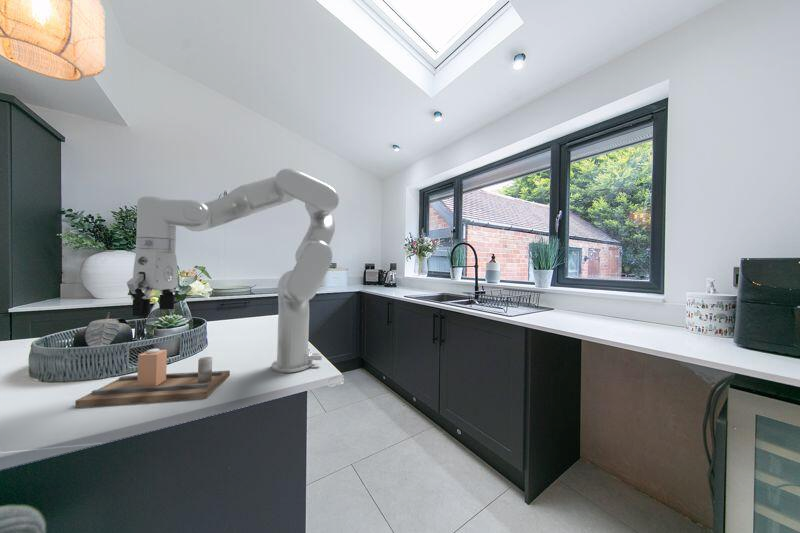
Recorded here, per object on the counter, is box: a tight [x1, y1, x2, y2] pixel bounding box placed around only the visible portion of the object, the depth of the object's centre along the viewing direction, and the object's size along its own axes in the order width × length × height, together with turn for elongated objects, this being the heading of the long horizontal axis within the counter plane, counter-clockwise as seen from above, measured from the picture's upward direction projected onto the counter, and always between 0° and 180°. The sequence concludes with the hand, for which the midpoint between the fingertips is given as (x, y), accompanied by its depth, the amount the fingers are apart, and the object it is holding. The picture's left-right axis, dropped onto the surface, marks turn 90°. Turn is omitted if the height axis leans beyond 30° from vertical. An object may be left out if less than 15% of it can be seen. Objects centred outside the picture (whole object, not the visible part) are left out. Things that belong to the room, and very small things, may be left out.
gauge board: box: [74, 356, 231, 408], centre depth 70 cm, size 26×14×8 cm, turn 102°
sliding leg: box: [136, 348, 168, 387], centre depth 69 cm, size 4×4×9 cm
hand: (154, 312), depth 69 cm, fingers open, 9 cm apart
